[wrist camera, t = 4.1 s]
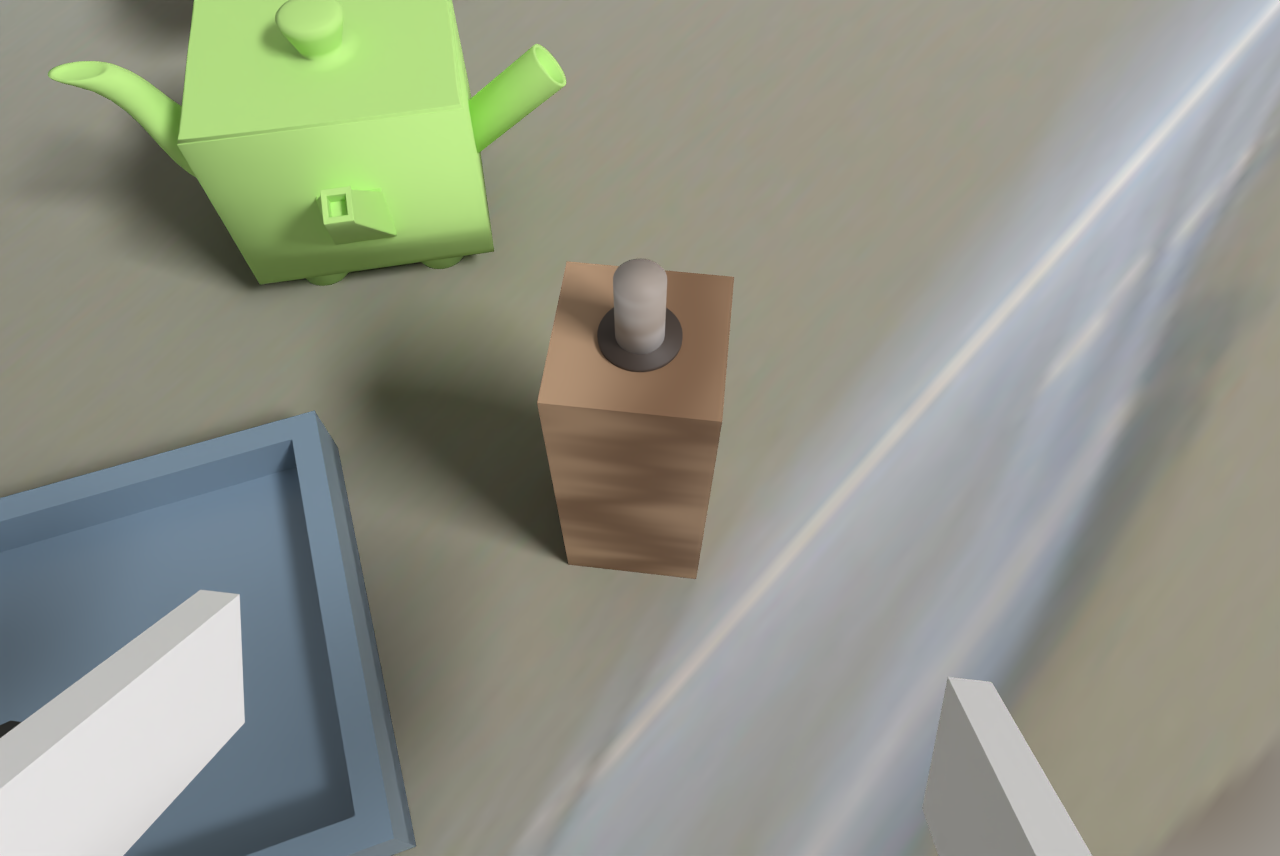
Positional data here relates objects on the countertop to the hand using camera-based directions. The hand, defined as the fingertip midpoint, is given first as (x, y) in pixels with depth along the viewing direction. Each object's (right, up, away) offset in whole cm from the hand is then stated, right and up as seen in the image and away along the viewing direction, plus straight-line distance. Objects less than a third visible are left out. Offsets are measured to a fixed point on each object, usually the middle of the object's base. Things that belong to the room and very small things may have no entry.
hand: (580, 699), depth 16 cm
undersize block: (+1, +2, +19) cm, 19 cm away
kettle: (-12, +16, +27) cm, 34 cm away
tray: (-16, -5, +15) cm, 23 cm away
